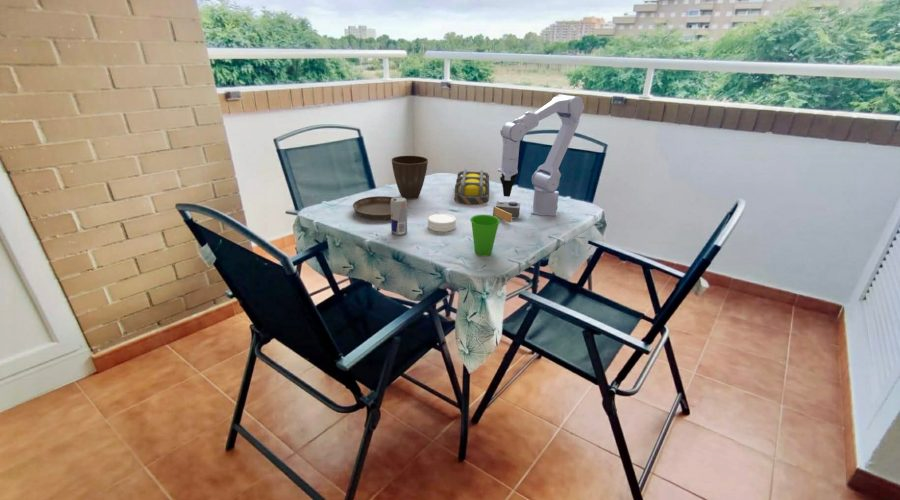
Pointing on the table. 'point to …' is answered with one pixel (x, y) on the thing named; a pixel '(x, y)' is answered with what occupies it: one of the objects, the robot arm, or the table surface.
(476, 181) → the cage light
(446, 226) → the white round disc
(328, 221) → the table surface
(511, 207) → the camera body
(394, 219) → the energy drink
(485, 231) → the cup
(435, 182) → the table surface
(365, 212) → the plant saucer
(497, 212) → the wooden matchstick
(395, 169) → the plant pot
